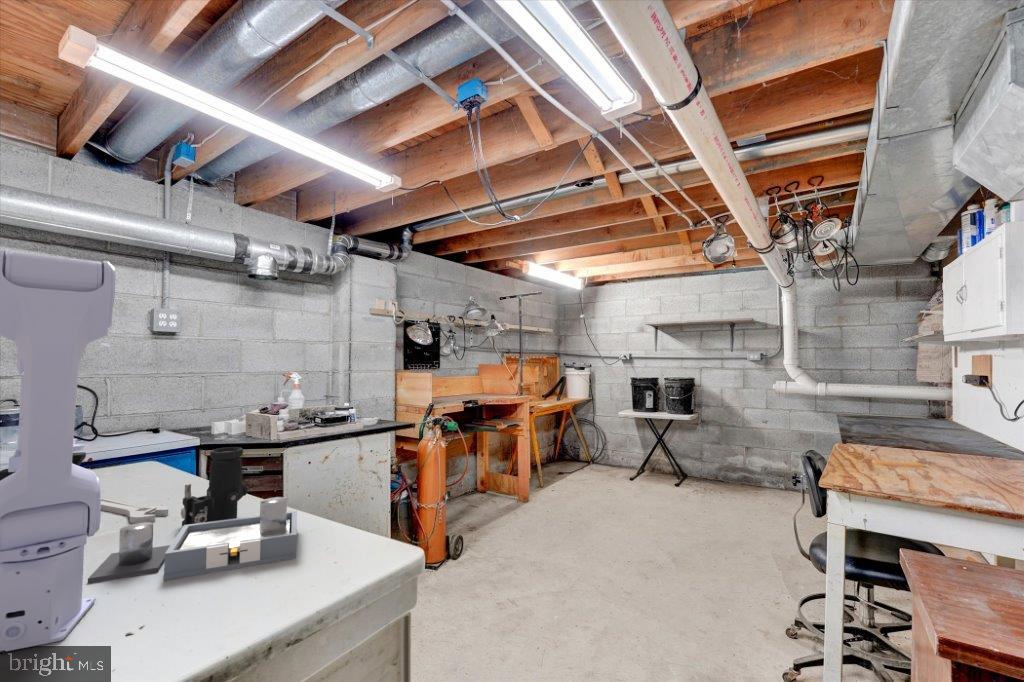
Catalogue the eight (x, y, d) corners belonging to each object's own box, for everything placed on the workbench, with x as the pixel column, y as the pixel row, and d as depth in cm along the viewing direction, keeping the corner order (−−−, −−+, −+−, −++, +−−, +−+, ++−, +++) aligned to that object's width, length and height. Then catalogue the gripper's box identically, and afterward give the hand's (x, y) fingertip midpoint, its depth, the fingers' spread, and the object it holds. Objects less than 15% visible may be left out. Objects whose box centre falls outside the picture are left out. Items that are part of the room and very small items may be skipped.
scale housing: (296, 558, 72) (296, 535, 72) (163, 580, 65) (164, 554, 65) (296, 529, 84) (296, 510, 84) (183, 545, 76) (184, 524, 76)
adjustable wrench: (78, 507, 97) (78, 499, 97) (115, 499, 102) (115, 491, 103) (138, 527, 85) (138, 517, 85) (176, 516, 91) (176, 507, 91)
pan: (288, 547, 71) (288, 542, 71) (172, 565, 65) (173, 560, 65) (289, 523, 82) (290, 518, 82) (190, 536, 75) (190, 531, 75)
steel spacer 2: (286, 532, 75) (286, 502, 76) (258, 536, 74) (259, 505, 74) (286, 524, 79) (287, 495, 79) (260, 528, 77) (261, 498, 77)
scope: (182, 452, 86) (238, 444, 94) (179, 526, 85) (236, 511, 93) (199, 457, 81) (257, 449, 89) (196, 536, 80) (255, 520, 89)
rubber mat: (157, 571, 67) (158, 567, 67) (87, 582, 64) (87, 578, 64) (172, 548, 75) (173, 544, 75) (111, 557, 72) (111, 553, 72)
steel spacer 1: (147, 563, 68) (147, 529, 69) (113, 567, 67) (114, 533, 67) (156, 552, 72) (157, 520, 72) (125, 556, 71) (125, 524, 71)
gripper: (60, 422, 62) (56, 522, 61) (102, 410, 75) (98, 493, 74) (-12, 425, 59) (-17, 531, 58) (44, 412, 72) (40, 498, 71)
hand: (43, 510), depth 66 cm, fingers open, 7 cm apart
